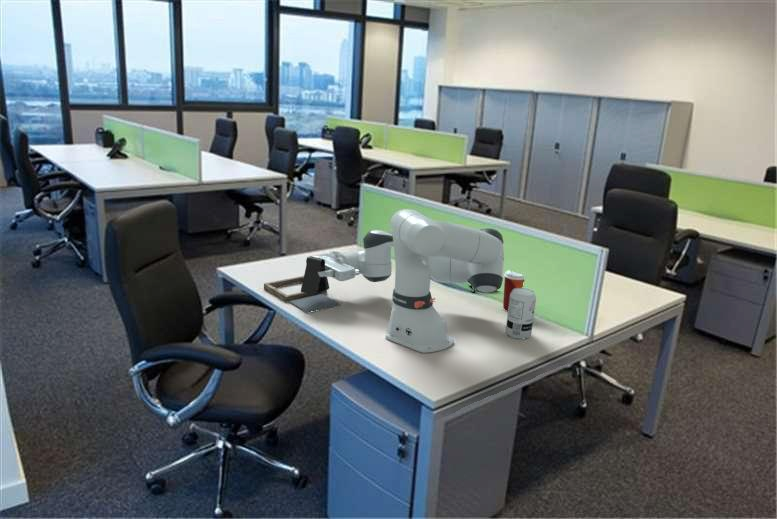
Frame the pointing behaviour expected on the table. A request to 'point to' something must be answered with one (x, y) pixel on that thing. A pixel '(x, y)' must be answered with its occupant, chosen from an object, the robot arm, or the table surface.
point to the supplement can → (520, 313)
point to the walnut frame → (282, 295)
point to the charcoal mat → (314, 303)
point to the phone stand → (314, 277)
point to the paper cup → (511, 285)
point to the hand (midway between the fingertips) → (313, 271)
